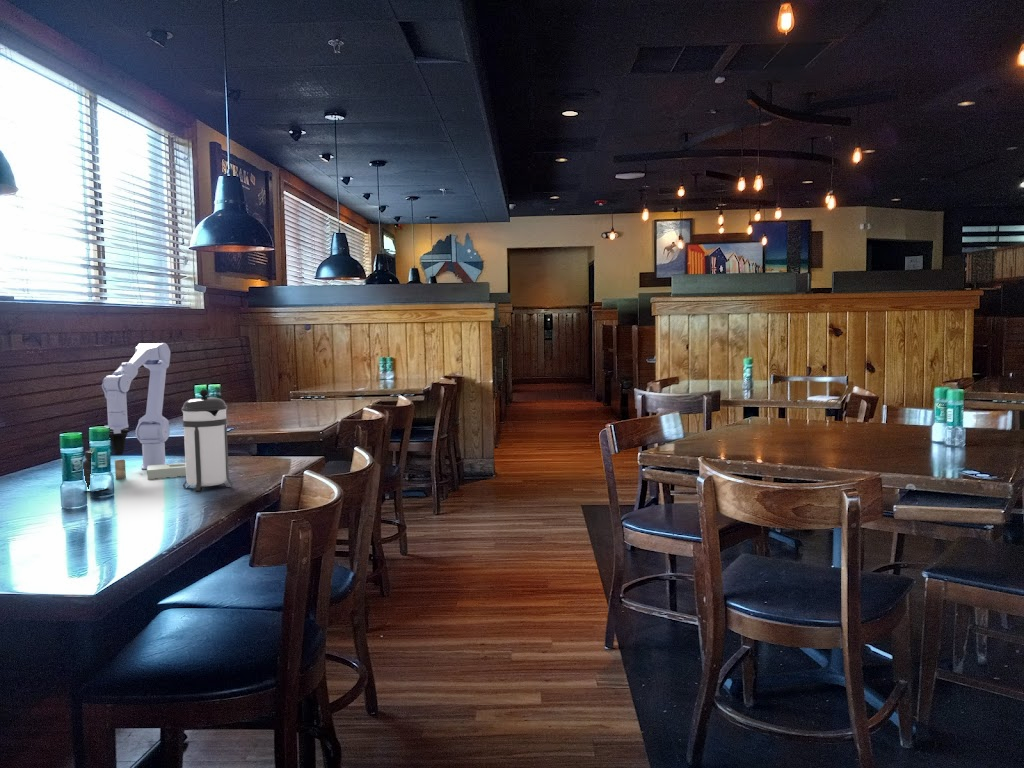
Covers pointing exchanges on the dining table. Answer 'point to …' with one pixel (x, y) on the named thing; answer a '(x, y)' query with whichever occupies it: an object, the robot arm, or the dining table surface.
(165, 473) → the bore block
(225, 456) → the coffee press
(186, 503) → the dining table surface
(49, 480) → the dining table surface
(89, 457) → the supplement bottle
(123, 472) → the peg
